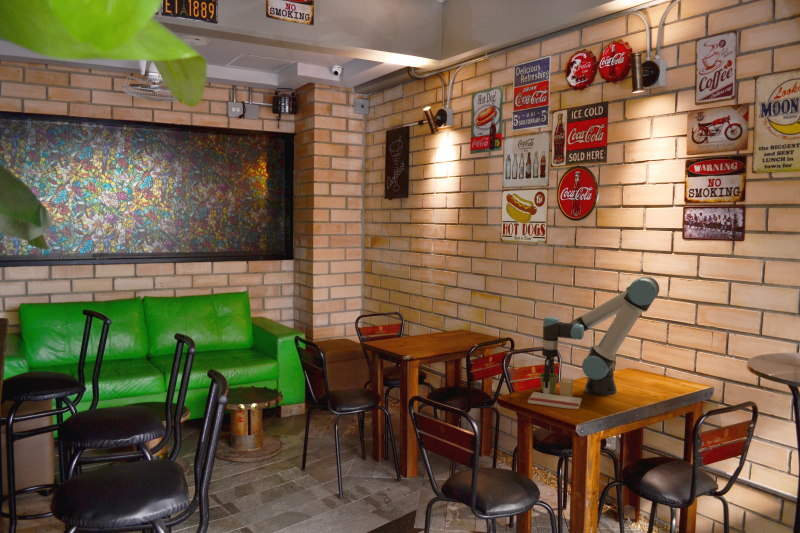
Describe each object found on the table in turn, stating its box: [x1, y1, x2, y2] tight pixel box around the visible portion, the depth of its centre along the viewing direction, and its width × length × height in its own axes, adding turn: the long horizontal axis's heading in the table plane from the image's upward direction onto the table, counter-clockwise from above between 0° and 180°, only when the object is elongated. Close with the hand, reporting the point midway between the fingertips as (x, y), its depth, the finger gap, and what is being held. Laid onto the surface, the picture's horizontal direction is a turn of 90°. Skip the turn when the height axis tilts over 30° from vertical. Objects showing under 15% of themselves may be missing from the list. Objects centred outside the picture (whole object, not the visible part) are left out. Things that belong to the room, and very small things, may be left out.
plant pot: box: [539, 372, 560, 395], centre depth 298 cm, size 9×9×9 cm
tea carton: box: [559, 377, 574, 397], centre depth 292 cm, size 5×8×8 cm, turn 157°
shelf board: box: [527, 391, 583, 410], centre depth 283 cm, size 23×14×3 cm, turn 67°
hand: (548, 390), depth 298 cm, fingers open, 11 cm apart
